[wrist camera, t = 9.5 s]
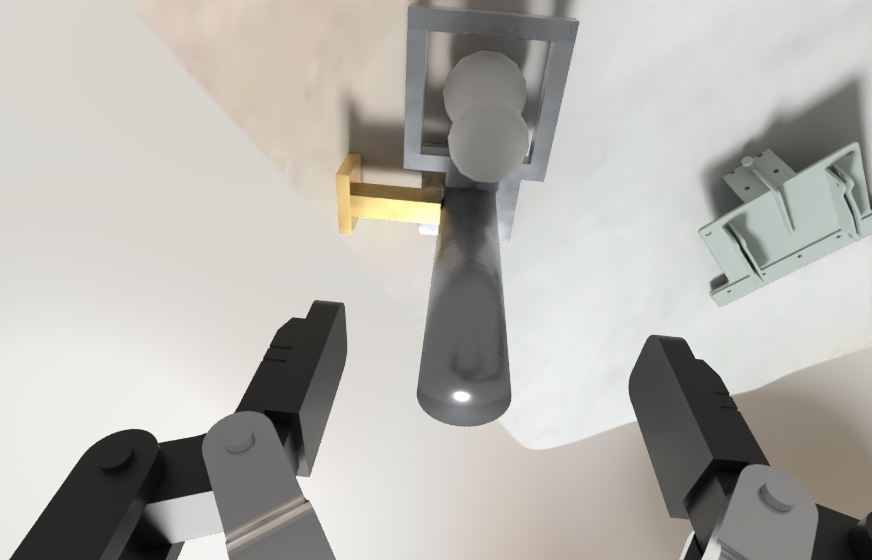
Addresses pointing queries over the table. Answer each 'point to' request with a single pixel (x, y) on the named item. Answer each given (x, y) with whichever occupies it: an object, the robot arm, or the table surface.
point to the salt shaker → (486, 116)
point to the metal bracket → (787, 218)
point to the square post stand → (462, 218)
